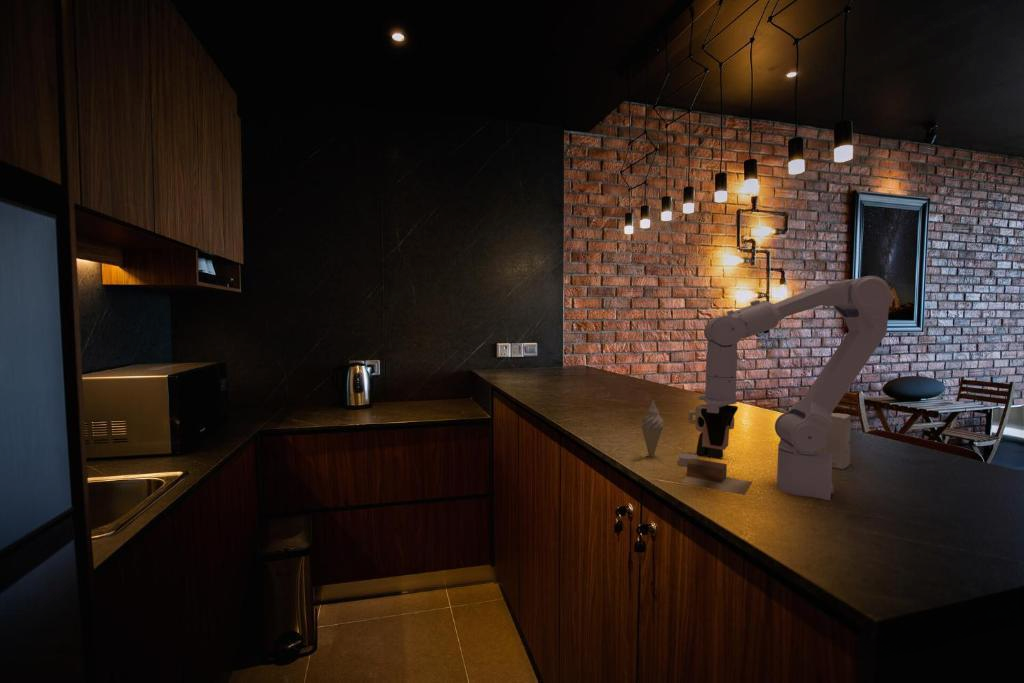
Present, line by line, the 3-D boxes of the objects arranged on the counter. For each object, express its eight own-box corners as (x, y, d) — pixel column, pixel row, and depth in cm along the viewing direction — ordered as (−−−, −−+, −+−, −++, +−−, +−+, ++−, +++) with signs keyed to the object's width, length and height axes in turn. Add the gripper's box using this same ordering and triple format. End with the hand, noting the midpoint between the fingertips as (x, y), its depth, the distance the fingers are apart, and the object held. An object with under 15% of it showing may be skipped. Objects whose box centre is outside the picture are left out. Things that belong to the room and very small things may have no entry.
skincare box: (844, 470, 111) (846, 418, 111) (821, 465, 114) (823, 415, 114) (850, 464, 115) (852, 414, 115) (828, 460, 119) (830, 411, 118)
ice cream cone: (657, 464, 114) (659, 401, 113) (637, 460, 117) (638, 399, 116) (665, 459, 118) (666, 399, 117) (645, 456, 121) (646, 396, 120)
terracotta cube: (728, 445, 98) (729, 425, 98) (724, 450, 95) (725, 429, 95) (706, 441, 101) (707, 422, 101) (701, 446, 97) (703, 425, 97)
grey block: (696, 467, 112) (697, 454, 112) (698, 472, 109) (698, 459, 108) (678, 465, 114) (679, 453, 114) (679, 470, 110) (679, 458, 110)
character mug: (682, 456, 120) (684, 405, 120) (691, 450, 126) (693, 401, 125) (729, 465, 114) (730, 410, 113) (736, 458, 119) (738, 406, 119)
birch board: (752, 486, 100) (752, 481, 99) (744, 499, 92) (744, 494, 92) (692, 475, 106) (692, 470, 106) (680, 486, 99) (680, 481, 99)
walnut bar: (726, 476, 102) (726, 464, 102) (721, 482, 99) (722, 469, 99) (692, 470, 106) (692, 458, 106) (686, 476, 103) (687, 463, 103)
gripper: (707, 371, 105) (705, 432, 106) (691, 377, 93) (689, 447, 94) (743, 373, 101) (740, 437, 102) (731, 381, 89) (728, 453, 90)
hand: (718, 442), depth 98 cm, fingers closed on terracotta cube, 4 cm apart
